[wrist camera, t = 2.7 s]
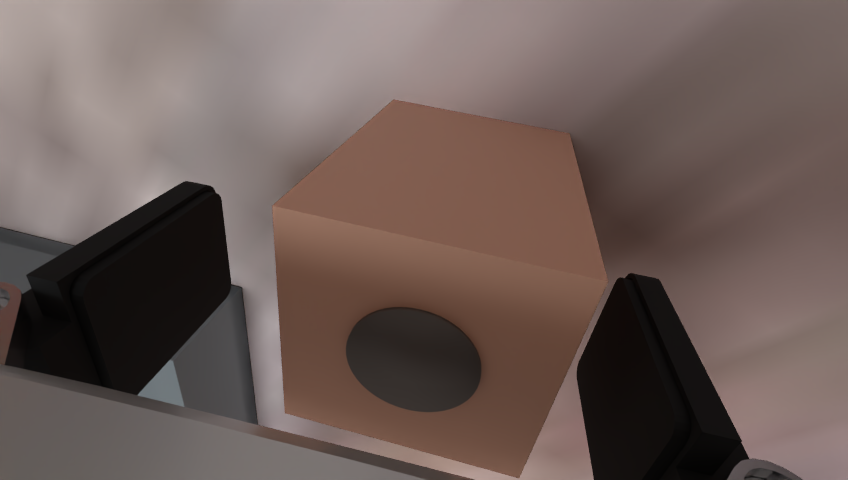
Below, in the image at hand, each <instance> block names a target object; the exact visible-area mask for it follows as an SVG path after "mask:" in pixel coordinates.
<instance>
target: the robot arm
mask: <svg viewBox="0 0 848 480" xmlns="http://www.w3.org/2000/svg"><path fill="white" fill-rule="evenodd" d="M26 276H27V279H28V281H29V284H30V286H31V289H30V290H28V291H26V292H25V293H23V294H22V292H21V290H20V289H18V288H17V287H16V286H15V285H13V284H9V283H6V282H0V480H473V479H470V478H466V477H462V476H458V475H454V474H450V473H446V472H442V471H438V470H434V469H430V468H427V467H423V466H419V465H415V464H411V463H407V462H403V461H399V460H395V459H391V458H387V457H384V456H380V455H376V454H372V453H368V452H364V451H360V450H356V449H352V448H348V447H344V446H340V445H336V444H332V443H328V442H324V441H320V440H316V439H312V438H308V437H304V436H300V435H296V434H292V433H288V432H284V431H280V430H276V429H272V428H268V427H264V426H260V425H256V424H252V423H248V422H244V421H240V420H236V419H232V418H228V417H224V416H220V415H215V414H211V413H207V412H203V411H199V410H195V409H191V408H187V407H183V406H179V405H175V404H170V403H166V402H162V401H158V400H154V399H150V398H146V397H142V396H138V394H139V393H140V392H141V391H142V390H143V388H144V387H145V386H146V385H147V384H148V383H149V382H150V381H151V380H152V379H153V378H154V377H155V375H156V374H157V373H158V372H159V371H160V370H161V369H162V368H163V367H164V366H165V365H166V363H167V362H168V361H169V360H170V359H171V358H172V357H173V356H174V355H175V354H176V353H177V351H178V350H179V349H180V348H181V347H182V346H183V345H184V344H185V343H186V342H187V341H188V339H189V338H190V337H191V336H192V335H193V334H194V333H195V332H196V331H197V330H198V329H199V328H200V326H201V325H202V324H203V323H204V322H205V321H206V320H207V319H208V318H209V317H210V316H211V314H212V313H213V312H214V311H215V310H216V309H217V308H218V307H219V306H220V305H221V304H222V302H223V301H224V300H225V299H226V298H227V297H228V295H229V293H230V290H231V277H230V269H229V260H228V252H227V243H226V235H225V226H224V218H223V209H222V201H221V197H220V195H219V194H217V193H216V192H215V190H214V188H213V187H211V186H208V185H203V184H198V183H194V182H188V181H185V182H183V183H181V184H179V185H177V186H176V187H174V188H172V189H171V190H169V191H167V192H166V193H164V194H162V195H160V196H159V197H157V198H155V199H154V200H152V201H150V202H149V203H147V204H145V205H143V206H142V207H140V208H138V209H137V210H135V211H133V212H132V213H130V214H128V215H127V216H125V217H123V218H121V219H120V220H118V221H116V222H115V223H113V224H111V225H110V226H108V227H106V228H105V229H103V230H101V231H99V232H98V233H96V234H94V235H93V236H91V237H89V238H88V239H86V240H84V241H82V242H81V243H79V244H77V245H76V246H74V247H72V248H71V249H69V250H67V251H66V252H64V253H62V254H60V255H59V256H57V257H55V258H54V259H52V260H50V261H49V262H47V263H45V264H44V265H42V266H40V267H38V268H37V269H35V270H33V271H32V272H30V273H28V274H27V275H26ZM577 382H578V388H579V394H580V399H581V405H582V411H583V417H584V423H585V429H586V435H587V441H588V447H589V452H590V458H591V464H592V470H593V476H594V480H803V479H801V478H800V477H798V476H797V475H795V474H793V473H792V472H790V471H788V470H787V469H785V468H783V467H781V466H779V465H776V464H774V463H771V462H769V461H765V460H759V459H749V457H748V455H747V453H746V451H745V449H744V447H743V445H742V443H741V442H742V440H741V439H740V437H739V435H738V433H737V431H736V429H735V427H734V425H733V423H732V421H731V419H730V417H729V415H728V413H727V411H726V409H725V407H724V405H723V403H722V401H721V399H720V397H719V395H718V393H717V392H716V390H715V388H714V386H713V384H712V382H711V380H710V378H709V376H708V374H707V372H706V370H705V368H704V366H703V364H702V362H701V360H700V358H699V356H698V354H697V352H696V350H695V348H694V346H693V345H692V343H691V341H690V339H689V337H688V335H687V333H686V331H685V329H684V327H683V325H682V323H681V321H680V319H679V317H678V315H677V313H676V311H675V309H674V307H673V305H672V303H671V301H670V299H669V298H668V296H667V294H666V292H665V290H664V288H663V286H662V284H661V282H660V281H659V279H656V278H652V277H647V276H642V275H637V274H633V273H630V274H628V275H627V276H626V278H618V279H617V280H616V282H615V284H614V286H613V289H612V291H611V293H610V295H609V297H608V299H607V302H606V304H605V306H604V308H603V310H602V313H601V315H600V317H599V319H598V321H597V324H596V326H595V328H594V330H593V332H592V334H591V337H590V339H589V341H588V343H587V345H586V348H585V350H584V352H583V354H582V356H581V359H580V361H579V363H578V367H577Z"/></svg>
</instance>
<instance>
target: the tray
mask: <svg viewBox="0 0 848 480" xmlns="http://www.w3.org/2000/svg"><path fill="white" fill-rule="evenodd" d="M72 247H74V246H72V245H68V244H64V243H60V242H56V241H52V240H48V239H44V238H40V237H36V236H32V235H28V234H24V233H20V232H16V231H12V230H8V229H4V228H0V282H6V283H9V284H13V285H15V286H16V287H17V288H18V289H20V290H21V292H22V294H23V293H25V292H26V291H28V290H30V289H31V286H30V284H29V281H28V279H27V276H26V275H27V274H28V273H30V272H32V271H33V270H35V269H37V268H38V267H40V266H42V265H44V264H45V263H47V262H49V261H50V260H52V259H54V258H55V257H57V256H59V255H60V254H62V253H64V252H66V251H67V250H69V249H71V248H72ZM138 396H142V397H146V398H150V399H154V400H158V401H162V402H166V403H170V404H175V405H179V406H183V407H187V408H191V409H195V410H199V411H203V412H207V413H211V414H215V415H220V416H224V417H228V418H232V419H236V420H240V421H244V422H248V423H252V424H256V425H257V416H256V408H255V399H254V391H253V382H252V374H251V365H250V356H249V348H248V339H247V331H246V322H245V314H244V305H243V297H242V288H241V287H237V286H233V285H231V290H230V293H229V295H228V297H227V298H226V299H225V300H224V301H223V302H222V304H221V305H220V306H219V307H218V308H217V309H216V310H215V311H214V312H213V313H212V314H211V316H210V317H209V318H208V319H207V320H206V321H205V322H204V323H203V324H202V325H201V326H200V328H199V329H198V330H197V331H196V332H195V333H194V334H193V335H192V336H191V337H190V338H189V339H188V341H187V342H186V343H185V344H184V345H183V346H182V347H181V348H180V349H179V350H178V351H177V353H176V354H175V355H174V356H173V357H172V358H171V359H170V360H169V361H168V362H167V363H166V365H165V366H164V367H163V368H162V369H161V370H160V371H159V372H158V373H157V374H156V375H155V377H154V378H153V379H152V380H151V381H150V382H149V383H148V384H147V385H146V386H145V387H144V388H143V390H142V391H141V392H140V393H139V394H138Z"/></svg>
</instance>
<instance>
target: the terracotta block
mask: <svg viewBox="0 0 848 480" xmlns="http://www.w3.org/2000/svg"><path fill="white" fill-rule="evenodd" d="M272 211H273V227H274V244H275V260H276V276H277V292H278V309H279V325H280V341H281V357H282V373H283V390H284V406H285V413H287V414H290V415H294V416H298V417H301V418H305V419H308V420H312V421H315V422H319V423H323V424H326V425H330V426H333V427H337V428H341V429H344V430H348V431H351V432H355V433H359V434H362V435H366V436H369V437H373V438H376V439H380V440H384V441H387V442H391V443H394V444H398V445H402V446H405V447H409V448H412V449H416V450H420V451H423V452H427V453H430V454H434V455H438V456H441V457H445V458H448V459H452V460H455V461H459V462H463V463H466V464H470V465H473V466H477V467H481V468H484V469H488V470H491V471H495V472H499V473H502V474H506V475H509V476H513V477H516V478H519V477H520V475H521V473H522V471H523V468H524V466H525V464H526V462H527V460H528V457H529V455H530V453H531V451H532V449H533V446H534V444H535V442H536V440H537V438H538V435H539V433H540V431H541V429H542V427H543V424H544V422H545V420H546V418H547V416H548V413H549V411H550V409H551V407H552V405H553V402H554V400H555V398H556V396H557V394H558V391H559V389H560V387H561V385H562V383H563V380H564V378H565V376H566V374H567V372H568V369H569V367H570V365H571V363H572V360H573V358H574V356H575V354H576V352H577V349H578V347H579V345H580V343H581V341H582V338H583V336H584V334H585V332H586V330H587V327H588V325H589V323H590V321H591V319H592V316H593V314H594V312H595V310H596V308H597V305H598V303H599V301H600V299H601V297H602V294H603V292H604V290H605V288H606V286H607V283H608V279H607V275H606V271H605V267H604V263H603V260H602V256H601V252H600V248H599V244H598V241H597V237H596V233H595V229H594V225H593V221H592V218H591V214H590V210H589V206H588V202H587V199H586V195H585V191H584V187H583V183H582V179H581V176H580V172H579V168H578V164H577V160H576V157H575V153H574V149H573V145H572V141H571V137H570V134H569V133H565V132H560V131H554V130H549V129H544V128H539V127H534V126H528V125H523V124H518V123H513V122H507V121H502V120H497V119H492V118H487V117H481V116H476V115H471V114H466V113H461V112H455V111H450V110H445V109H440V108H434V107H429V106H424V105H419V104H414V103H408V102H403V101H398V100H393V101H392V102H390V103H389V104H388V105H387V106H386V107H385V108H384V109H382V110H381V111H380V112H379V113H378V114H377V115H376V116H374V117H373V118H372V119H371V120H370V121H369V122H368V123H366V124H365V125H364V126H363V127H362V128H361V129H360V130H358V131H357V132H356V133H355V134H354V135H353V136H351V137H350V138H349V139H348V140H347V141H346V142H345V143H343V144H342V145H341V146H340V147H339V148H338V149H337V150H335V151H334V152H333V153H332V154H331V155H330V156H329V157H327V158H326V159H325V160H324V161H323V162H322V163H321V164H319V165H318V166H317V167H316V168H315V169H314V170H313V171H311V172H310V173H309V174H308V175H307V176H306V177H305V178H303V179H302V180H301V181H300V182H299V183H298V184H297V185H295V186H294V187H293V188H292V189H291V190H290V191H289V192H287V193H286V194H285V195H284V196H283V197H282V198H281V199H279V200H278V201H277V202H276V203H275V204H274V205H273V206H272Z"/></svg>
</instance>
